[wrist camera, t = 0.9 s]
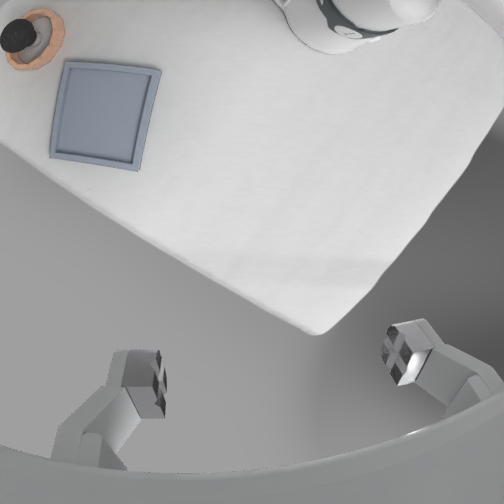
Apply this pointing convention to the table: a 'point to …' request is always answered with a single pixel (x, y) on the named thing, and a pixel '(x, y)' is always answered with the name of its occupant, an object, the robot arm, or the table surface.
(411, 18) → the robot arm
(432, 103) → the table surface
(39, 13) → the ring
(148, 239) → the table surface
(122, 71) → the tray
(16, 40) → the light bulb
